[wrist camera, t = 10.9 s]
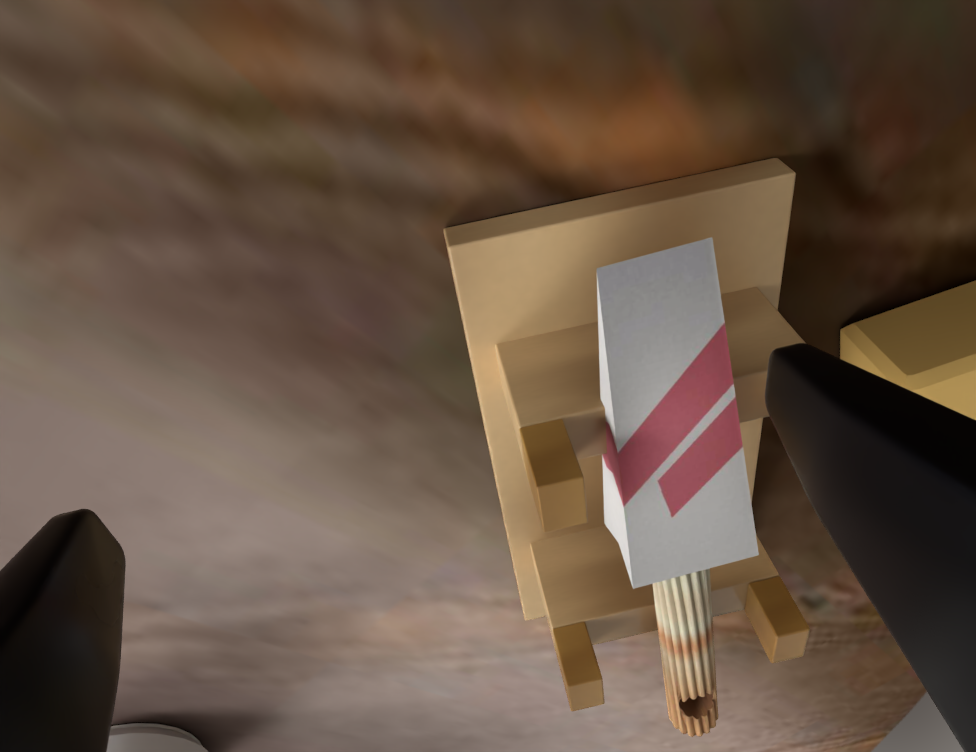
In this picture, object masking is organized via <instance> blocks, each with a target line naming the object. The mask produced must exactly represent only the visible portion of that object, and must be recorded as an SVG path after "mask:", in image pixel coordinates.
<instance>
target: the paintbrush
mask: <svg viewBox="0 0 976 752" xmlns="http://www.w3.org/2000/svg"><path fill="white" fill-rule="evenodd" d="M596 269H597V301H598V334H599V366H600V399H601V401H602V403H603V405H604V407H605V419H606V442H607V453H605V454H602V463H603V496H604V524H605V525H606V527H607V528H608V529H609V531H610V532H611V533H612V535H613V536H614V538H615V539H616V540H617V542H618V543H619V546H620V549H621V553H622V556H623V559H624V562H625V565H626V568H627V571H628V574H629V578H630V581H631V584H632V587H633V589H635V588H638V587H642V586H646V585H649V584H653V592H654V601H655V610H656V618H657V626H658V634H659V642H660V650H661V658H662V666H663V674H664V682H665V690H666V698H667V706H668V714H669V718H670V720H671V721H672V722H673V726H674V727H675V728H676V729H680V731H681V732H682V733H683V734H686V733H688V735H689V736H691V737H693V736H694V735H697V736H702V735H703V733H706V734H707V733H709V732H710V728H714V727H715V726H716V720H717V719H718V707H717V691H716V672H715V653H714V635H713V617H712V600H711V582H710V568H713V567H716V566H720V565H724V564H727V563H731V562H735V561H739V560H742V559H746V558H750V557H754V556H757V555H759V553H758V546H757V539H756V532H755V525H754V519H753V512H752V505H751V498H750V491H749V484H748V478H747V471H746V464H745V457H744V450H743V444H742V437H741V430H740V423H739V416H738V410H737V403H736V396H735V389H734V382H733V375H732V369H731V362H730V355H729V348H728V341H727V335H726V328H725V321H724V314H723V307H722V301H721V294H720V287H719V280H718V273H717V267H716V260H715V253H714V246H713V239H712V237H711V238H708V239H704V240H700V241H697V242H693V243H689V244H685V245H682V246H678V247H674V248H670V249H667V250H663V251H659V252H656V253H652V254H648V255H644V256H641V257H637V258H633V259H629V260H626V261H622V262H618V263H615V264H611V265H607V266H603V267H600V268H596Z"/></svg>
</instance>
